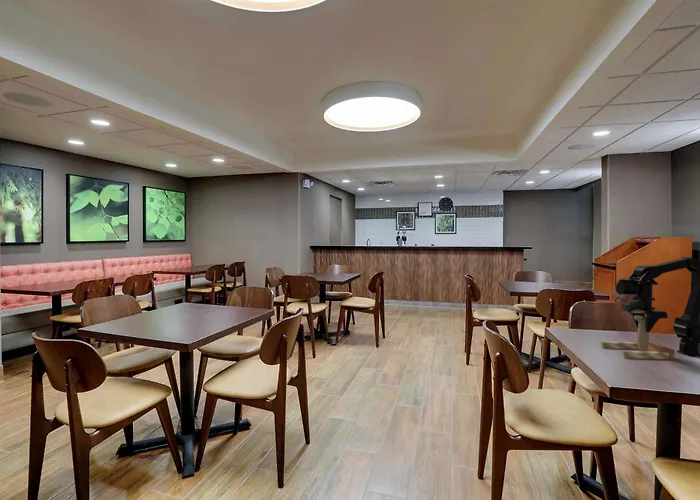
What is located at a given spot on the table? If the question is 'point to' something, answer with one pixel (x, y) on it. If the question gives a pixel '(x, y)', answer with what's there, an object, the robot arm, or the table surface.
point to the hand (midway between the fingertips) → (643, 330)
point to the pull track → (654, 348)
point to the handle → (642, 334)
